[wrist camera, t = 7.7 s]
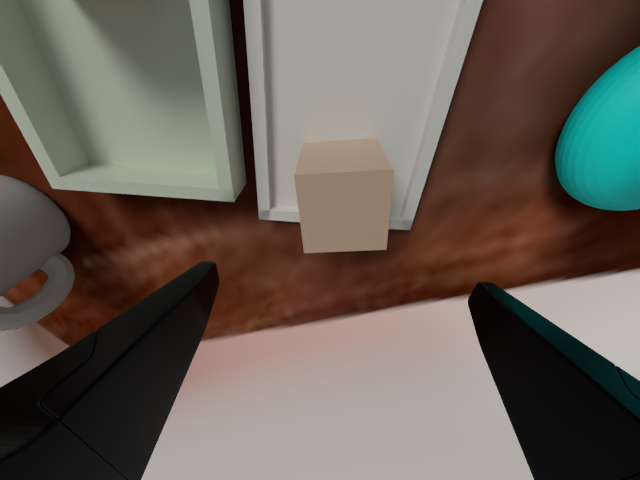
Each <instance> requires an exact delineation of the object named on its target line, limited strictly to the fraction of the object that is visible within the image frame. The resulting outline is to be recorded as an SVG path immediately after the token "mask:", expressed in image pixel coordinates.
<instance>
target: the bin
mask: <svg viewBox="0 0 640 480" xmlns="http://www.w3.org/2000/svg"><path fill="white" fill-rule="evenodd" d="M0 94H1V96H2V98H3V99H4V101H5V103H6V105H7V107H8V108H9V110H10V112H11V114H12V116H13V118H14V119H15V121H16V123H17V125H18V127H19V128H20V130H21V132H22V134H23V136H24V138H25V139H26V141H27V143H28V145H29V147H30V148H31V150H32V152H33V154H34V156H35V158H36V159H37V161H38V163H39V165H40V167H41V168H42V170H43V172H44V174H45V176H46V178H47V179H48V181H49V183H50V185H51V187H52V188H53V189H64V190H78V191H91V192H105V193H118V194H132V195H145V196H159V197H172V198H185V199H199V200H212V201H226V202H235V200H236V199H237V197H238V196H239V194H240V192H241V191H242V189H243V188H244V186H245V185H246V183H247V182H246V172H245V161H244V151H243V140H242V130H241V119H240V108H239V98H238V87H237V77H236V66H235V56H234V45H233V35H232V24H231V14H230V3H229V0H0Z"/></svg>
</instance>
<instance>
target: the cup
mask: <svg viewBox="0 0 640 480" xmlns="http://www.w3.org/2000/svg"><path fill="white" fill-rule="evenodd" d="M70 234H71V229H70V225H69V222H68V220H67V218H66V216H65V215H64V213H63V212H62V210H61V209H60V208H59V207H58V206H57V205H56V204H55V202H53V201H52V200H51V199H50V198H49V197H47V196H46V195H45V194H44V193H43V192H41V191H39V190H38V189H36V188H35V187H33V186H31V185H30V184H27V183H25V182H23V181H21V180H18V179H16V178H12V177H9V176H5V175H0V296H2V295H3V294H4V293H6V292H7V291H8V290H10V289H11V288H13V287H14V286H15V285H17V284H18V283H19V282H21V281H22V280H23V279H25V278H26V277H28V276H29V275H30V274H32V273H33V272H34V271H36V270H37V269H39V268H40V269H42V270H43V271H45V272H46V273H47V274H48V276H49V278H48V280H47V282H46V283H45V285H44V286H43V287H42V288H41V289H40V290H39V291H38V292H37V293H36V294H34V295H33V296H32V297H30V298H29V299H27V300H25V301H24V302H22V303H20V304H17V305H15V306H13V307H9V308H5V307H0V331H5V330H12V329H18V328H21V327H24V326H26V325H29V324H31V323H33V322H36V321H38V320H40V319H41V318H43V317H44V316H46V315H47V314H49V313H51V312H52V311H53V310H54V309H55V308H56V307H58V306H59V305H60V304H61V303H62V302H63V301H64V300H65V298H66V297H67V296H68V294H69V293H70V291H71V290H72V287H73V283H74V280H75V274H74V269H73V265H72V264H71V263H70V262H69V260H68V259H67V258H66V257H65V256H63V255H62V254H60V252H61V251H62V250H64V249H65V248H66V246H67V245H68V243H69V242H70Z"/></svg>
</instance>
